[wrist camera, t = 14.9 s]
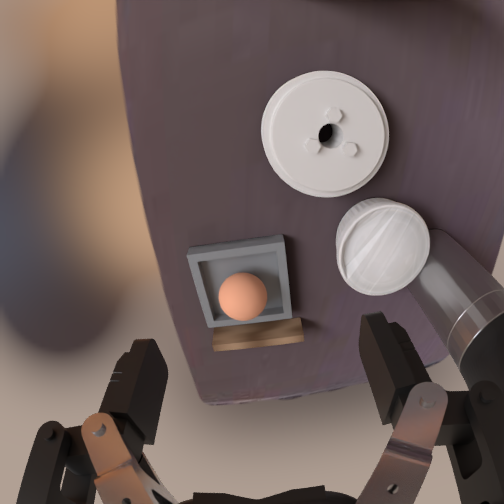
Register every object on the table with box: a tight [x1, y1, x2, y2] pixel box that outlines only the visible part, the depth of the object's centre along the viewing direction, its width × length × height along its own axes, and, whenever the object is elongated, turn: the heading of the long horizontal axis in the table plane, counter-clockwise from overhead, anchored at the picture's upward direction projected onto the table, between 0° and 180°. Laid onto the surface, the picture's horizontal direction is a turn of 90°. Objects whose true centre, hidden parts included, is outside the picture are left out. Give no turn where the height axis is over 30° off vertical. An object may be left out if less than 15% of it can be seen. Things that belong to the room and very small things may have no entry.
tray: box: [187, 234, 292, 328], centre depth 38 cm, size 11×11×2 cm
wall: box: [212, 318, 304, 351], centre depth 41 cm, size 12×1×4 cm, turn 98°
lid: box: [261, 71, 389, 197], centre depth 28 cm, size 13×13×5 cm
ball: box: [219, 272, 267, 321], centre depth 36 cm, size 6×6×6 cm
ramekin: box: [336, 198, 430, 295], centre depth 33 cm, size 11×11×5 cm
